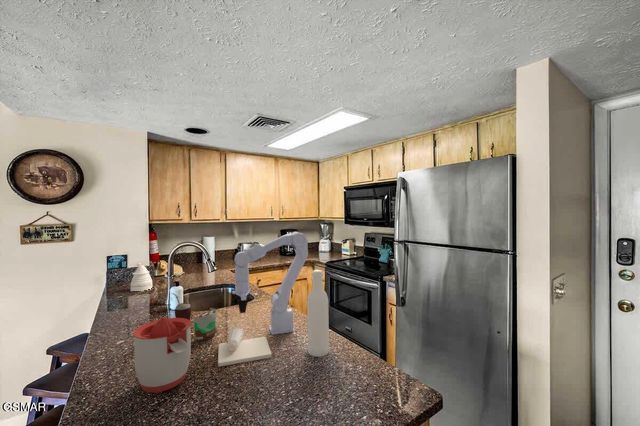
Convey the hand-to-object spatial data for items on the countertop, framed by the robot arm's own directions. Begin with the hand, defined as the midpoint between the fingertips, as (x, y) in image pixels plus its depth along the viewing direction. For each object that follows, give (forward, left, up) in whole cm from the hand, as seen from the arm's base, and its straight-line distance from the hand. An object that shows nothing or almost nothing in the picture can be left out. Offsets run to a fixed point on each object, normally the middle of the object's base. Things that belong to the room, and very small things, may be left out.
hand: (242, 312), depth 119 cm
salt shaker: (+3, +6, -6) cm, 9 cm away
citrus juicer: (+25, +27, -10) cm, 38 cm away
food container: (+14, -4, -10) cm, 17 cm away
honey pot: (+62, -102, -10) cm, 119 cm away
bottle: (-25, +25, -10) cm, 37 cm away
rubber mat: (+1, +15, -10) cm, 18 cm away
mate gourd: (+27, -26, -10) cm, 39 cm away
